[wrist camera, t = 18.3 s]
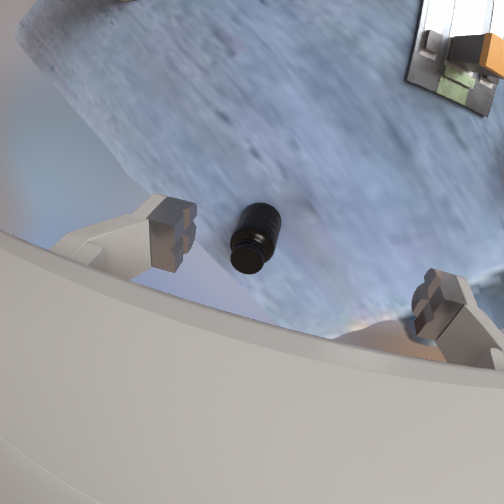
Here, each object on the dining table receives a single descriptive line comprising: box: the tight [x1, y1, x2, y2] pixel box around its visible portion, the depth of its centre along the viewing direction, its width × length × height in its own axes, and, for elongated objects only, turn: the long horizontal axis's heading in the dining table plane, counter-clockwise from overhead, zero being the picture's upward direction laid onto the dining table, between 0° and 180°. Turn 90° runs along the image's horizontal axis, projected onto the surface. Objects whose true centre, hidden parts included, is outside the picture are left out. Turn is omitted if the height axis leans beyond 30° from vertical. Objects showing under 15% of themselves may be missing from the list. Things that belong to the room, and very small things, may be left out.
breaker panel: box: [405, 0, 504, 118], centre depth 24 cm, size 26×14×3 cm, turn 172°
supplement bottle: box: [230, 203, 281, 274], centre depth 49 cm, size 7×7×12 cm
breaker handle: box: [448, 33, 504, 79], centre depth 23 cm, size 4×4×12 cm
